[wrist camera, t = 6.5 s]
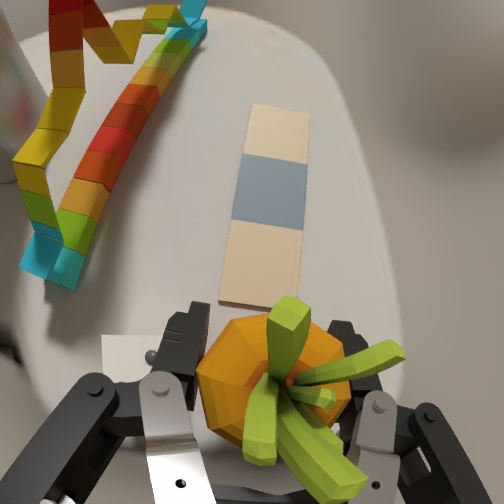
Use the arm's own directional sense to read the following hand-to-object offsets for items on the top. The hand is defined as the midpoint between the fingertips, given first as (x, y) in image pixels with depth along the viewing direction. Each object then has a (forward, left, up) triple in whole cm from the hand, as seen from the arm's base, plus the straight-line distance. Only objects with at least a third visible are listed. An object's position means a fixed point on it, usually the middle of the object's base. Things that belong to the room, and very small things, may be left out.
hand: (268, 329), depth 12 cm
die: (-6, -3, -7) cm, 10 cm away
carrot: (0, -2, -7) cm, 8 cm away
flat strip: (0, +10, -7) cm, 12 cm away
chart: (-13, +16, -8) cm, 22 cm away
